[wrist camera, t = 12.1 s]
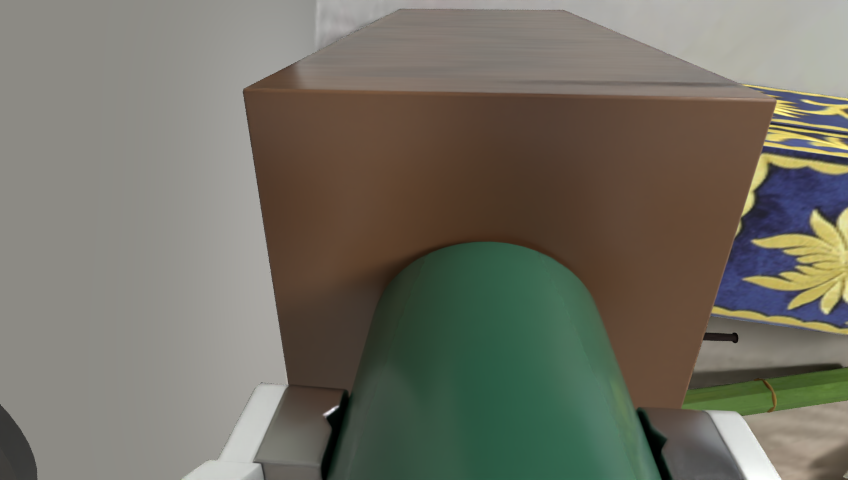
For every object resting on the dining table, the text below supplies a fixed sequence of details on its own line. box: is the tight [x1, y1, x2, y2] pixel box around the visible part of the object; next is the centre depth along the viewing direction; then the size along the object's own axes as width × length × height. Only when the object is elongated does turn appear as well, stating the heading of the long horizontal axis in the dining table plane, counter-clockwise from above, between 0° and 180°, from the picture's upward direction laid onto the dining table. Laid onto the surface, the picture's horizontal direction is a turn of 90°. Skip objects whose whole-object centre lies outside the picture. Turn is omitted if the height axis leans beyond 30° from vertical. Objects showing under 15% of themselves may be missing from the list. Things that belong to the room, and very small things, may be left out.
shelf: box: [243, 9, 777, 410], centre depth 21 cm, size 9×10×22 cm
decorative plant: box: [681, 367, 848, 416], centre depth 37 cm, size 6×8×30 cm
